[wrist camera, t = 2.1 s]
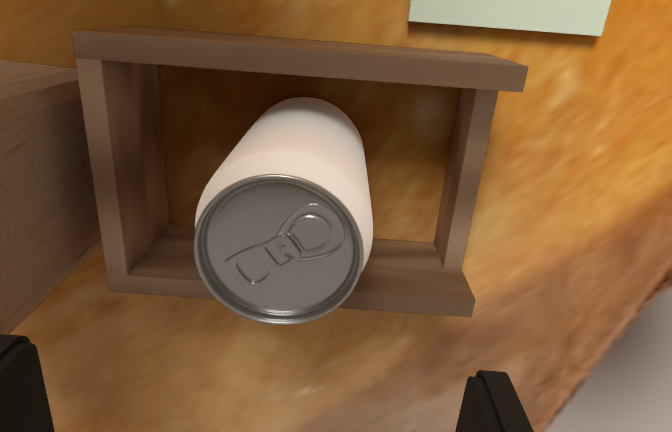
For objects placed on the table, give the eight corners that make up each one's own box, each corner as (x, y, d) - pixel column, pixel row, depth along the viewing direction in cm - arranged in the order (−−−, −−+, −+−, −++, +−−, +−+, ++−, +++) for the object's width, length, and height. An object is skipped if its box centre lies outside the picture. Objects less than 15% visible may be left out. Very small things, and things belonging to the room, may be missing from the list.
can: (384, 170, 27) (412, 282, 16) (291, 225, 28) (257, 363, 17) (322, 71, 25) (304, 120, 14) (225, 136, 26) (137, 228, 15)
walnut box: (134, 26, 24) (71, 31, 18) (486, 53, 24) (528, 66, 19) (154, 237, 29) (109, 291, 23) (447, 258, 29) (471, 317, 23)
